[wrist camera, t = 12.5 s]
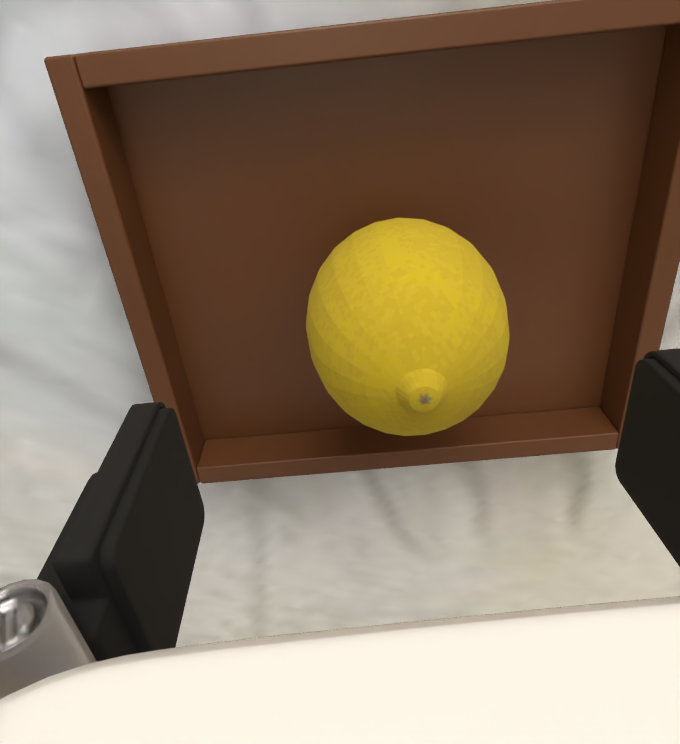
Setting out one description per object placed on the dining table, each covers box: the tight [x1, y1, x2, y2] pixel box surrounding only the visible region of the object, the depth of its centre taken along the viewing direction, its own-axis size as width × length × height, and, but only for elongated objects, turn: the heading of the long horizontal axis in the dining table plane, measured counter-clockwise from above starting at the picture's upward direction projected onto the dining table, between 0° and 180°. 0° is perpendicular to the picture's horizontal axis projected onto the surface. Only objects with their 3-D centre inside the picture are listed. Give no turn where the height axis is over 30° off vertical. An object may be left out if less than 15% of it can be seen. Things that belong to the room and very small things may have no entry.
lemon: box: [306, 218, 510, 436], centre depth 16 cm, size 6×6×8 cm
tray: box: [44, 0, 680, 483], centre depth 19 cm, size 18×15×3 cm
